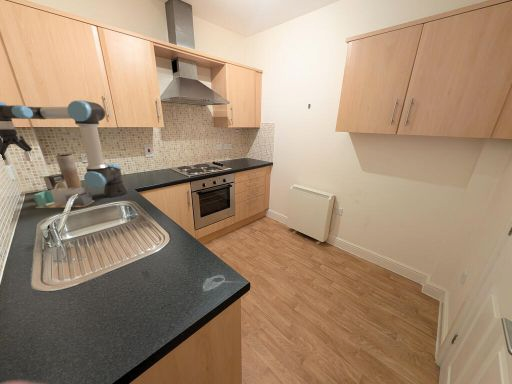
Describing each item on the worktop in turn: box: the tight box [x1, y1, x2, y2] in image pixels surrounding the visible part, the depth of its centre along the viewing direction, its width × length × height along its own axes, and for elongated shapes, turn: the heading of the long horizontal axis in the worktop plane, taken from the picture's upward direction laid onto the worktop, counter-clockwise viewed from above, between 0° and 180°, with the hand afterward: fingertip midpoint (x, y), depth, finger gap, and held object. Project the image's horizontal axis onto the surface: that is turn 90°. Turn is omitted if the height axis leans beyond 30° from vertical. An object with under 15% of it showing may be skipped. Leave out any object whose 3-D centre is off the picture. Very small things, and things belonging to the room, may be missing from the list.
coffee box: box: [43, 173, 67, 191], centre depth 147 cm, size 9×6×16 cm
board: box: [34, 200, 95, 209], centre depth 134 cm, size 30×10×1 cm, turn 94°
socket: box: [32, 190, 54, 207], centre depth 132 cm, size 5×8×8 cm, turn 4°
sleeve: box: [65, 191, 94, 206], centre depth 134 cm, size 10×8×7 cm
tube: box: [51, 187, 87, 205], centre depth 133 cm, size 18×5×10 cm, turn 94°
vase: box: [55, 153, 83, 188], centre depth 163 cm, size 10×10×28 cm
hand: (19, 162), depth 131 cm, fingers open, 13 cm apart
